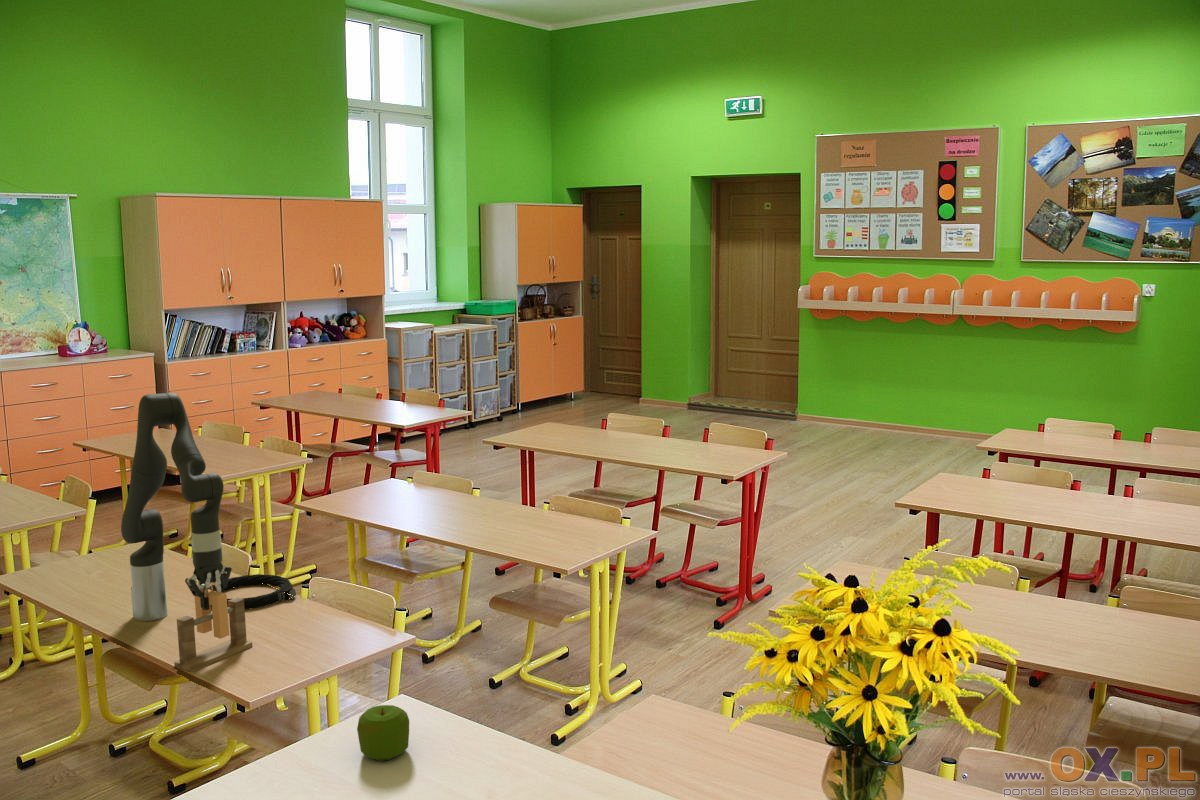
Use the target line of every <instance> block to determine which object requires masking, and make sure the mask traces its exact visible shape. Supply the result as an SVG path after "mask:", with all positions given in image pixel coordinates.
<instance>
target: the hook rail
mask: <svg viewBox="0 0 1200 800" xmlns="http://www.w3.org/2000/svg"><path fill="white" fill-rule="evenodd" d="M230 599H231V600H229V601H228V607H227V608H228V623H229V636H230V639H229V640H227V641H224V642H221V643H219V644H216V645H213V646H210V647H209V648H205V649H204V650H201V651H198V652H197V647H196V645H197V644H196V634H195V631H196V630H195V626H197V625H198V624H201V623H203V622H206V621H209V620H211V619H212V620H213V615H212V612H211V614H208V615H205V616H203V617H200V618H197V619H196V618H194V617H192V616H189V615H184V616H182V617H179V618H176V628H177V629H176V631H177V640H178V642H177V643H178V655H179V660H176V661H174V662H173V663H174V667H175V668H178V669H181V670H185V671H188V672H190V673H191V672H193V671H194V672H195V671H196V670H199V669H201V668H203V667H206V666H208V665H210V664H213V663H216V662H219V661H220V660H223V659H225V658H227V657H230V656H232V655H234V654H235V655H236V654H238V653H239V652H242V651H244V650H246V649H249V648H252V647H253V641H251V640H250V641H249V640H247V628H246V627H247V625H246V611H245V610H246V609H245V608H244V599H242V598H240V597H234V598H230Z"/></svg>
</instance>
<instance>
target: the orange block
mask: <svg viewBox="0 0 1200 800" xmlns="http://www.w3.org/2000/svg"><path fill="white" fill-rule="evenodd" d="M207 597H209V610H204V609H202V608H201V603H200V597H198V596H194V607H195V619H197V618H200V617H203V616H205V615H208V614H211V613H212V615H213V619H211V620H209V621H206V622H203V623H201V624H198V625H196V631H197V633H201V634H206V633H208V632H211V631H213V637H214V638H217V639H220V640H221V639H224V638H226V637H228V636H230V622H229V613H228V608H227V599H228V597H227V593H225V592H217V591H213V590H209V589H208V596H207ZM211 605H212V607H211Z"/></svg>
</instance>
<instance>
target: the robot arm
mask: <svg viewBox="0 0 1200 800" xmlns="http://www.w3.org/2000/svg"><path fill="white" fill-rule="evenodd" d="M172 425H173V426H174V427H175V429H176V430H175V436H174V438H173V441H172V443H171V448H170V454H171V455H170V456H171V458H172V460H173V462H174V465H175V467H176V469H177V471H178V474H179V478H180V485H181V487H180V489H181V495H182V497H183V499H184V500H186V501H187V502H189V503H199V502H204V501H205V504H204V505H203V506H201V507H199V508H196V509H195V510H193V511H191V514H190V524H191V525H190V526H191V538H190V539H191V541H190V542H191V554H192V555H191V556H192V564H193V567H194V569H193V571H192V575H191V576H190V577H189V578H188V577H186V578H185V580H184V582H185V584H186V585H187V588H188V589H189V591H190V592H191V594H192V596H194V597H195V596H198V597H200V603H201V608H202V609H204V610H209V597H207V596H208V589H209V588H210V586H211V588H212V590H213V591H217V592H221V590H222V589H225V588H226V587H227V583H228V580H229V579H230V578H231V577H230V576H231V573H232V570H233V568H232V567H230V566H225V565H224V564H223V549H222V537H221V532H220V531H221V530H220V520H219V519H220V518H219V516H220V515H219V514H220V513H219V512H220V508H221V502H222V498H223V494H224V486H225V485H224V481H223V479H222V477H221V476H220V475H219V474H217V473H214V472H211V473H210V472H209V473H205V474H203V473H204V472H205V470H206V466H207V465H206V462H205V459H204V457H203V456H202V454H201V452H200V450H199V448H198V446H197V444H196V441H195V439H194V435H193V433H192V432H193V431H192V428H191V424H190V422H189V417H188V415H187V412H186V408H185V405H184V403H183V401H182V398H181V397H180V396H179V394H178V393H175V392H163V393H150V394H144V395H143V396H142V397H141V398H140V400H139V403H138V411H137V427H136V429H137V430H136V441H135V449H134V454H133V461H132V465H131V473H130V482H129V488H128V494H127V500H126V503H125V506H124V510H123V514H122V518H121V525H120V531H121V537H122V538H123V541H125V543H127V544H138V543H143V542H145V543H144V544H143V545H142V546H141V547H140V548H138V549H137V550H135V551H133V552H132V553H131V554H130V556H129V562H130V564H129V566H130V576H131V587H130V591H131V592H130V594H131V605H132V606H131V607H132V616H133V617H134V620H136V621H137V622H153V621H157V620H161V619H162V618H164V617H166V616H167V615H168V606H167V605H168V603H167V590H166V577H165V566H164V565H165V563H164V552H165V549H164V548H165V547H164V521H163V518H162V515H161V513H160V511H159V510H157V509H155V508H151V509H145V507H146V506H147V504H148V502H149V501H150V500H151V499H152V498H153V497H154V496H155V495H156V494H157V493H158V492H159V490H160V488H161V487H162V486H163V484H164V482H165V479H166V474H167V469H168V461H167V457H166V455H165V453H164V451H163V450H162V449H161V447H160V445H159V444H158V443H157V441H156V440H155V438H154V433H153V432H154V428H155V427H162V426H172ZM223 580H224V581H223ZM221 593H222V592H221Z"/></svg>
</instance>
